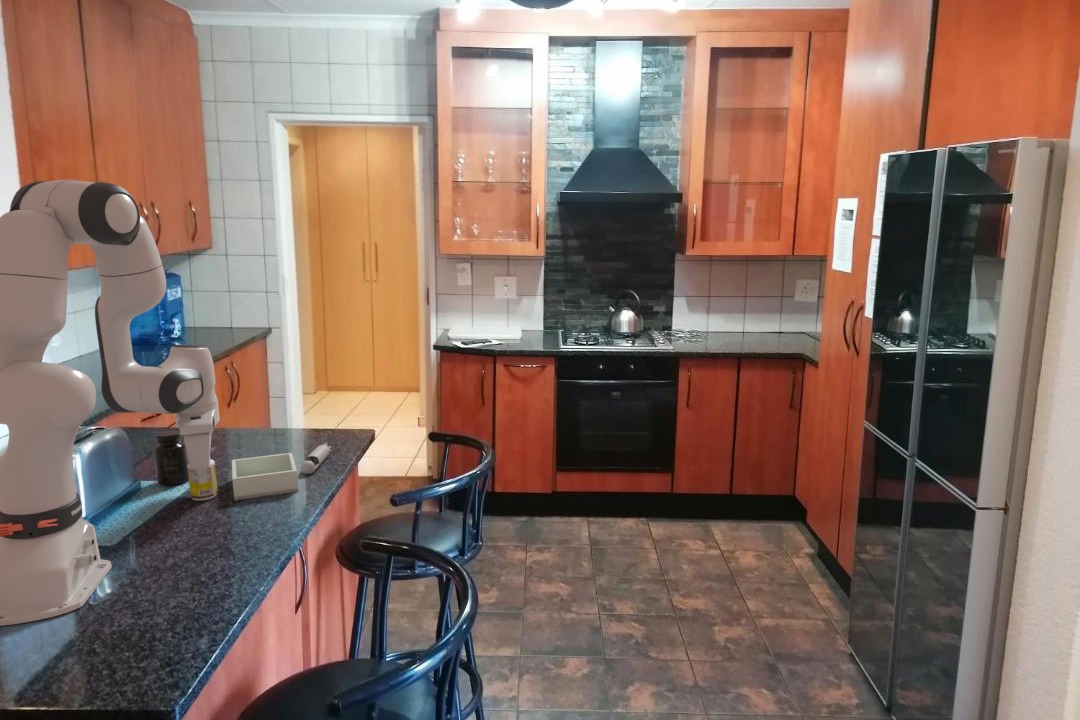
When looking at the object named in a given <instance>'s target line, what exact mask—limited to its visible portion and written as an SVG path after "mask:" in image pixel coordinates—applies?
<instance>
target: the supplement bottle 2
mask: <svg viewBox="0 0 1080 720" xmlns="http://www.w3.org/2000/svg"><path fill="white" fill-rule="evenodd" d="M188 476H189V479H188V482H189V492H190V498H191V499H192V500H193V501H197V502H198V501H199V502H203V501H208V500H211V499H214V498H216V496H217V495H218V484H217V483H218V482H217V481H218V480H217V472H216V463H215V460H213V459H211V458H210V465H209V467H208V468H207V477H208V481H207V483H201V484H200V483H199V481H198V475H197V472H196V470H192V469H191V467H190V464H189V463H188Z"/></svg>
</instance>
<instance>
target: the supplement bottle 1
mask: <svg viewBox="0 0 1080 720" xmlns="http://www.w3.org/2000/svg"><path fill="white" fill-rule="evenodd" d="M156 442H157V445H155V447H154V448H153V456H154V463H155V472H156V482H157V484H158V485H159V486H161V487H174V486H173V485H175V486H178V485H179V486H180V485H182V484H185V483H187V482H189V476H188V464H189V460H188V456H187V451H186V447H185V442H182V441H181V435H180V431H178V430H166V431H162V432H159V433H157V434H156Z"/></svg>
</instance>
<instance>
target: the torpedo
mask: <svg viewBox="0 0 1080 720" xmlns="http://www.w3.org/2000/svg"><path fill="white" fill-rule="evenodd" d="M321 435H323V433H322V432H321ZM323 440H324V439H323V438H321V443H322V444H320V445H317V446H316V448H315V449H314V450H312V452H311V453H310V454H309V455H308V456H307V457H306V458H305V460H303V461H302V462H301V465H300V470H301V473H302V474H304V475H310V474H311V475H312V474H313V473H314V472H315V471H316V470H317V469H318V468H319V467H320V465H321V464H322V463H323V462H324V461H325V460H326V459H327V458H328V456H329V454H330V452H333V450H332V449H331V448H332V446H329V445H328V442H325V443H324V442H323ZM315 465H316V466H315Z"/></svg>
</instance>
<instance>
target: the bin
mask: <svg viewBox="0 0 1080 720" xmlns="http://www.w3.org/2000/svg"><path fill="white" fill-rule="evenodd" d="M231 467H232V468H231V472H232V473H231V475H232V476H231V477H232V478H231V480H232V490H233V491H232V492H233V500H234V501H240V500H246V499H253V498H261V497H262V498H263V497H267V496H268V495H269V496H275V495H276V496H277V495H282V494H290V493H297V492H299V482H298V481H299V480H298V471H297V467H296V462H295V459H294V455H293V452H287V453H278V454H269V455H262V456H261V455H260V456H253V457H246V458H245V457H244V458H238V459H237V458H236V459H232V460H231ZM269 496H268V497H269ZM239 499H240V500H239Z"/></svg>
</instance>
